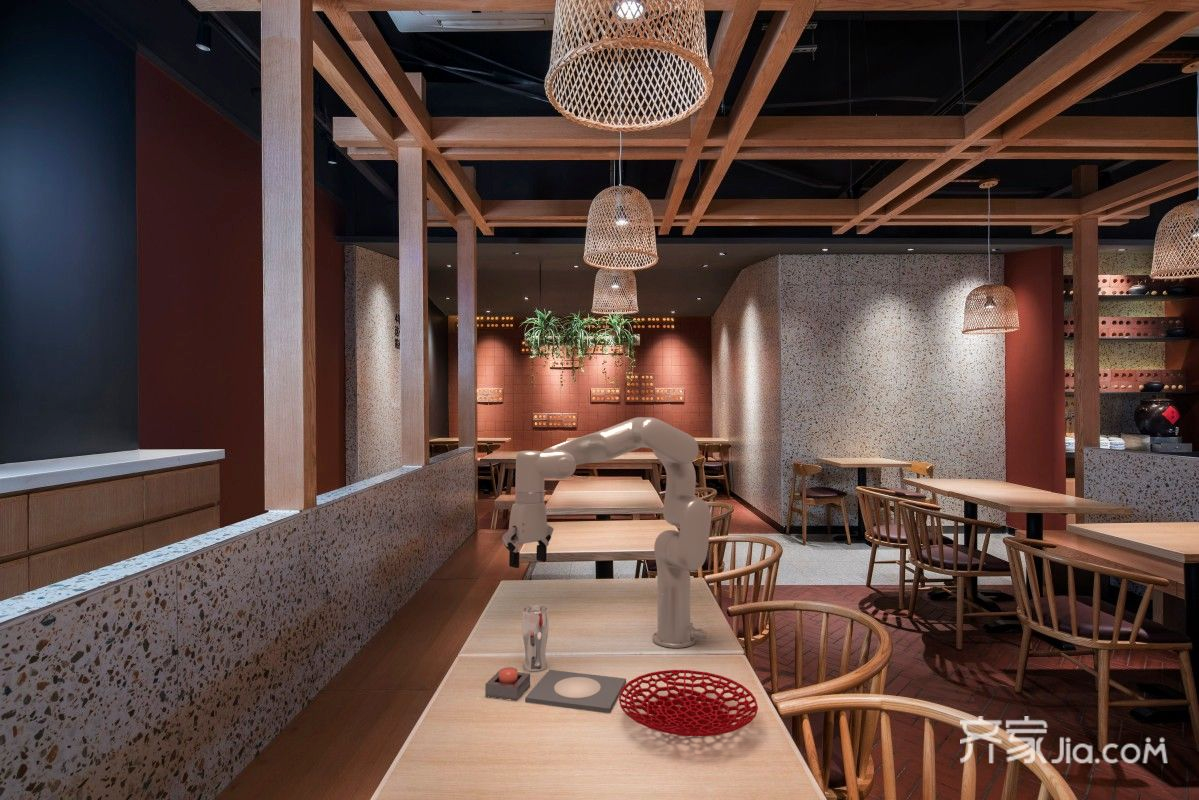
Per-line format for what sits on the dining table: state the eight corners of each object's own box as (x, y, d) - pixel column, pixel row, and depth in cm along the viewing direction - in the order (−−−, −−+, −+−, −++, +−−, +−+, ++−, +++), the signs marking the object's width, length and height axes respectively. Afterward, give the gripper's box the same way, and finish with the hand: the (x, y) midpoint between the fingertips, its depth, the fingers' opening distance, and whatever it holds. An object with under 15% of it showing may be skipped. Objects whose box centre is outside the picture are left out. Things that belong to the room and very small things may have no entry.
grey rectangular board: (626, 682, 152) (626, 677, 152) (609, 713, 137) (609, 707, 137) (549, 673, 158) (549, 668, 158) (525, 702, 142) (525, 696, 142)
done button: (520, 680, 149) (520, 668, 149) (513, 688, 145) (513, 675, 145) (503, 678, 150) (503, 666, 151) (495, 686, 146) (495, 673, 146)
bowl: (668, 776, 113) (668, 748, 113) (595, 708, 140) (595, 685, 140) (788, 736, 127) (788, 711, 127) (701, 681, 153) (701, 660, 153)
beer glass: (544, 673, 158) (544, 614, 158) (518, 671, 159) (518, 612, 159) (552, 662, 165) (551, 605, 165) (526, 660, 166) (526, 604, 166)
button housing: (530, 686, 151) (530, 673, 151) (517, 700, 143) (517, 687, 143) (499, 682, 153) (499, 670, 153) (485, 696, 145) (485, 683, 145)
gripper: (542, 494, 172) (541, 556, 171) (494, 499, 158) (493, 567, 158) (562, 496, 167) (561, 560, 166) (514, 502, 153) (513, 572, 153)
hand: (528, 563), depth 162 cm, fingers open, 9 cm apart
